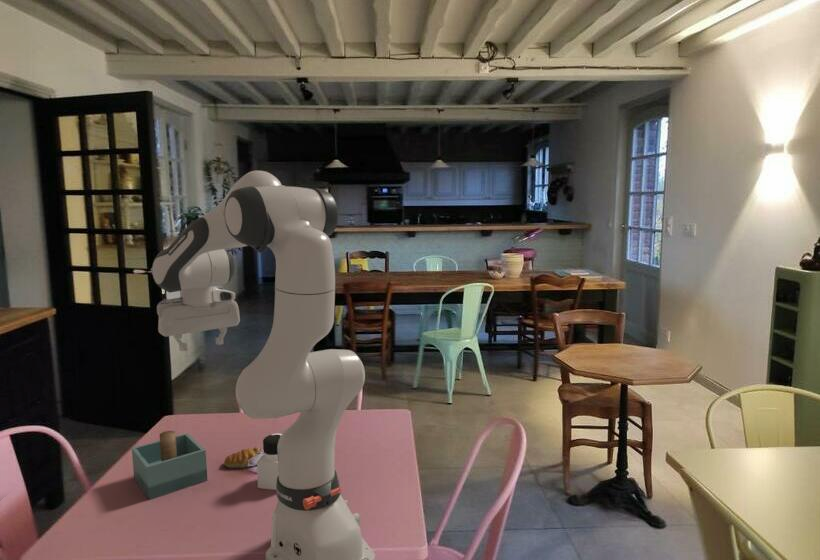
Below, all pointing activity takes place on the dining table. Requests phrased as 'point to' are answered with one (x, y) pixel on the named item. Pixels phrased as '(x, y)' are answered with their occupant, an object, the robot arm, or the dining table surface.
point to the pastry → (240, 458)
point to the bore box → (169, 467)
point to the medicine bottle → (268, 463)
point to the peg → (168, 445)
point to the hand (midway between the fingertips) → (201, 347)
